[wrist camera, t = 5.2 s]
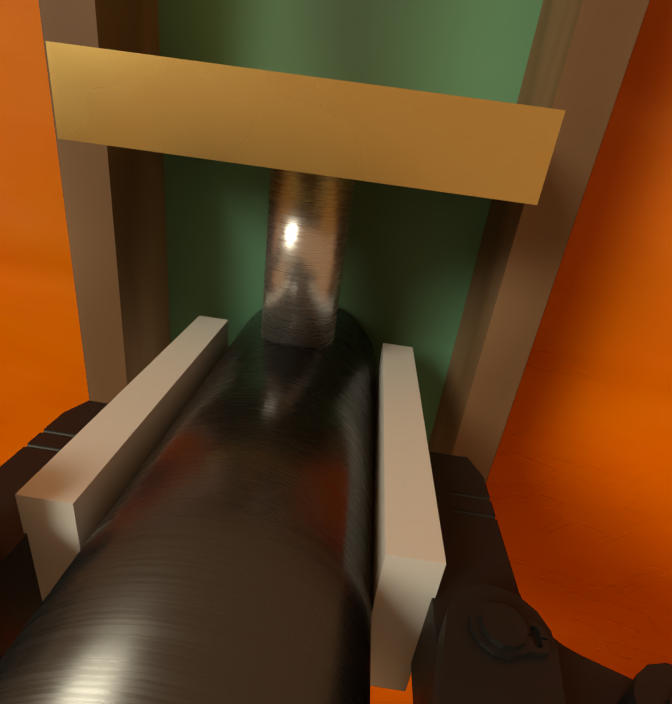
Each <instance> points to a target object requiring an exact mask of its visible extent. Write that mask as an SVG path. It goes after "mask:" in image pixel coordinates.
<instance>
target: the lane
mask: <svg viewBox="0 0 672 704" xmlns="http://www.w3.org/2000/svg"><path fill="white" fill-rule="evenodd" d="M649 1H650V0H39V8H40V16H41V23H42V31H43V39H44V47H45V55H46V63H47V71H48V78H49V86H50V94H51V102H52V110H53V118H54V126H55V133H56V141H57V149H58V157H59V165H60V173H61V180H62V188H63V196H64V204H65V212H66V220H67V228H68V235H69V243H70V251H71V259H72V267H73V275H74V283H75V290H76V298H77V306H78V314H79V322H80V330H81V337H82V345H83V353H84V361H85V369H86V377H87V385H88V392H89V400H90V401H96V402H102V403H108V404H109V403H110V402H111V401H112V400H113V399H114V398H115V397H116V396H117V395H118V394H119V393H120V392H121V391H122V390H123V389H124V388H125V387H126V386H127V385H128V384H129V383H130V382H131V381H132V380H133V379H134V378H135V377H137V376H138V375H139V374H140V373H141V372H142V371H143V370H144V369H145V368H146V367H147V366H148V365H149V364H150V363H151V362H152V361H153V360H154V359H155V358H156V357H157V356H158V355H159V354H160V353H161V352H162V351H163V350H164V349H165V348H166V347H167V346H168V345H170V344H171V343H172V342H173V341H174V340H175V339H176V338H177V337H178V336H179V335H180V334H181V333H182V332H183V331H184V330H185V329H186V328H187V327H188V326H189V325H190V324H191V323H192V322H193V321H194V320H195V319H196V318H197V317H198V316H205V317H212V318H219V319H226V320H228V347H229V346H230V345H231V343H232V342H233V341H234V339H235V338H236V336H237V335H238V334H239V332H240V331H241V330H242V328H243V327H244V326H245V324H246V323H247V322H248V321H249V319H250V318H251V317H252V316H253V315H254V314H256V313H257V312H258V311H259V310H261V309H262V308H263V291H264V274H265V256H266V239H267V221H268V204H269V186H270V169H271V168H267V167H260V166H252V165H245V164H238V163H231V162H224V161H216V160H209V159H202V158H195V157H188V156H180V155H173V154H166V153H159V152H152V151H145V150H137V149H130V148H123V147H116V146H109V145H101V144H94V143H87V142H80V141H73V140H65V139H58V136H57V128H56V120H55V112H54V105H53V97H52V89H51V81H50V73H49V65H48V57H47V49H46V41H50V42H57V43H65V44H72V45H80V46H87V47H95V48H102V49H110V50H117V51H125V52H132V53H140V54H147V55H155V56H162V57H170V58H177V59H185V60H192V61H200V62H207V63H215V64H222V65H230V66H237V67H245V68H252V69H260V70H267V71H275V72H282V73H290V74H297V75H305V76H312V77H320V78H327V79H335V80H342V81H350V82H357V83H365V84H372V85H380V86H387V87H395V88H402V89H410V90H417V91H425V92H432V93H440V94H447V95H455V96H462V97H470V98H477V99H485V100H492V101H500V102H507V103H515V104H522V105H530V106H537V107H545V108H552V109H560V110H566V111H565V114H564V118H563V121H562V124H561V128H560V131H559V134H558V138H557V141H556V144H555V148H554V151H553V154H552V157H551V161H550V164H549V167H548V171H547V174H546V177H545V181H544V184H543V187H542V191H541V194H540V197H539V201H538V204H537V205H533V204H526V203H518V202H511V201H504V200H497V199H490V198H482V197H475V196H468V195H461V194H454V193H446V192H439V191H432V190H425V189H418V188H411V187H403V186H396V185H389V184H382V183H375V182H367V181H360V180H355V183H354V191H353V198H352V206H351V213H350V221H349V228H348V236H347V243H346V251H345V259H344V266H343V274H342V281H341V289H340V296H339V304H338V308H340V309H342V310H343V311H345V312H346V313H348V314H349V315H350V316H351V317H353V318H354V319H355V320H356V321H357V322H358V323H359V324H360V325H361V327H362V328H363V329H364V331H365V332H366V334H367V335H368V337H369V339H370V341H371V344H372V347H373V349H374V353H375V359H376V378H377V373H378V367H379V362H380V356H381V351H382V345H383V343H387V344H394V345H401V346H407V347H413V353H414V360H415V366H416V373H417V379H418V385H419V392H420V398H421V405H422V411H423V418H424V424H425V430H426V437H427V443H428V450H429V451H430V452H436V453H443V454H449V455H456V456H462V457H468V459H469V460H470V461H471V462H472V463H473V465H474V466H475V467H476V468H477V469H478V471H479V472H480V473H481V474H482V475H483V477H484V480H485V484H486V481H487V478H488V475H489V472H490V469H491V466H492V463H493V460H494V457H495V454H496V451H497V449H498V446H499V443H500V440H501V437H502V434H503V431H504V428H505V425H506V422H507V419H508V416H509V413H510V410H511V407H512V404H513V401H514V398H515V395H516V393H517V390H518V387H519V384H520V381H521V378H522V375H523V372H524V369H525V366H526V363H527V360H528V357H529V354H530V351H531V348H532V345H533V342H534V340H535V337H536V334H537V331H538V328H539V325H540V322H541V319H542V316H543V313H544V310H545V307H546V304H547V301H548V298H549V295H550V292H551V289H552V286H553V284H554V281H555V278H556V275H557V272H558V269H559V266H560V263H561V260H562V257H563V254H564V251H565V248H566V245H567V242H568V239H569V236H570V233H571V231H572V228H573V225H574V222H575V219H576V216H577V213H578V210H579V207H580V204H581V201H582V198H583V195H584V192H585V189H586V186H587V183H588V180H589V178H590V175H591V172H592V169H593V166H594V163H595V160H596V157H597V154H598V151H599V148H600V145H601V142H602V139H603V136H604V133H605V130H606V127H607V124H608V122H609V119H610V116H611V113H612V110H613V107H614V104H615V101H616V98H617V95H618V92H619V89H620V86H621V83H622V80H623V77H624V74H625V71H626V69H627V66H628V63H629V60H630V57H631V54H632V51H633V48H634V45H635V42H636V39H637V36H638V33H639V30H640V27H641V24H642V21H643V18H644V15H645V13H646V10H647V7H648V4H649Z"/></svg>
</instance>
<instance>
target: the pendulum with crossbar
mask: <svg viewBox="0 0 672 704" xmlns="http://www.w3.org/2000/svg"><path fill="white" fill-rule="evenodd" d="M46 49H47V57H48V65H49V73H50V81H51V89H52V97H53V105H54V112H55V120H56V128H57V136H58V139H65V140H73V141H80V142H87V143H94V144H101V145H109V146H116V147H123V148H130V149H137V150H145V151H152V152H159V153H166V154H173V155H180V156H188V157H195V158H202V159H209V160H216V161H224V162H231V163H238V164H245V165H252V166H260V167H267V168H271V169H270V186H269V204H268V221H267V239H266V256H265V274H264V291H263V308H262V309H261V310H259V311H258V312H257V313H256V314H254V315H253V316H252V317H251V318H250V319H249V321H248V322H247V323H246V324H245V326H244V327H243V328H242V330H241V331H240V332H239V334H238V335H237V336H236V338H235V339H234V341H233V342H232V343H231V345H230V346H229V347H228V349H227V350H226V352H225V353H224V354H223V356H222V357H221V358H220V360H219V361H218V362H217V364H216V365H215V367H214V368H213V369H212V371H211V372H210V373H209V375H208V376H207V378H206V379H205V380H204V382H203V383H202V384H201V386H200V387H199V388H198V390H197V391H196V393H195V394H194V395H193V397H192V398H191V399H190V401H189V402H188V404H187V405H186V406H185V408H184V409H183V410H182V412H181V413H180V414H179V416H178V417H177V419H176V420H175V421H174V423H173V424H172V425H171V427H170V428H169V430H168V431H167V432H166V434H165V435H164V436H163V438H162V439H161V440H160V442H159V443H158V445H157V446H156V447H155V449H154V450H153V451H152V453H151V454H150V456H149V457H148V458H147V460H146V461H145V462H144V464H143V465H142V466H141V468H140V469H139V471H138V472H137V473H136V475H135V476H134V477H133V479H132V480H131V482H130V483H129V484H128V486H127V487H126V488H125V490H124V491H123V492H122V494H121V495H120V497H119V498H118V499H117V501H116V502H115V503H114V505H113V506H112V508H111V509H110V510H109V512H108V513H107V514H106V516H105V517H104V518H103V520H102V521H101V523H100V524H99V525H98V527H97V528H96V529H95V531H94V532H93V534H92V535H91V536H90V538H89V539H88V540H87V542H86V543H85V545H84V546H83V547H82V549H81V550H80V551H79V553H78V554H77V555H76V557H75V558H74V560H73V561H72V562H71V564H70V565H69V566H68V568H67V569H66V571H65V572H64V573H63V575H62V576H61V577H60V579H59V580H58V581H57V583H56V584H55V586H54V587H53V588H52V590H51V591H50V592H49V594H48V595H47V597H46V598H45V599H44V601H43V602H42V603H41V605H40V606H39V607H38V609H37V610H36V612H35V613H34V614H33V616H32V617H31V618H30V620H29V621H28V623H27V624H26V625H25V627H24V628H23V629H22V631H21V632H20V633H19V635H18V636H17V638H16V639H15V640H14V642H13V643H12V644H11V646H10V647H9V649H8V650H7V651H6V653H5V654H4V655H3V657H2V658H1V659H0V704H370V669H371V612H372V558H373V505H374V451H375V396H376V359H375V353H374V349H373V347H372V344H371V341H370V339H369V337H368V335H367V334H366V332H365V331H364V329H363V328H362V327H361V325H360V324H359V323H358V322H357V321H356V320H355V319H354V318H353V317H351V316H350V315H349V314H348V313H346V312H345V311H343V310H342V309H340V308H338V304H339V296H340V289H341V281H342V274H343V266H344V259H345V251H346V243H347V236H348V228H349V221H350V213H351V206H352V198H353V191H354V183H355V180H360V181H367V182H375V183H382V184H389V185H396V186H403V187H411V188H418V189H425V190H432V191H439V192H446V193H454V194H461V195H468V196H475V197H482V198H490V199H497V200H504V201H511V202H518V203H526V204H533V205H537V204H538V201H539V197H540V194H541V191H542V187H543V184H544V181H545V177H546V174H547V171H548V167H549V164H550V161H551V157H552V154H553V151H554V148H555V144H556V141H557V138H558V134H559V131H560V128H561V124H562V121H563V118H564V114H565V111H566V110H560V109H552V108H545V107H537V106H530V105H522V104H515V103H507V102H500V101H492V100H485V99H477V98H470V97H462V96H455V95H447V94H440V93H432V92H425V91H417V90H410V89H402V88H395V87H387V86H380V85H372V84H365V83H357V82H350V81H342V80H335V79H327V78H320V77H312V76H305V75H297V74H290V73H282V72H275V71H267V70H260V69H252V68H245V67H237V66H230V65H222V64H215V63H207V62H200V61H192V60H185V59H177V58H170V57H162V56H155V55H147V54H140V53H132V52H125V51H117V50H110V49H102V48H95V47H87V46H80V45H72V44H65V43H57V42H50V41H46Z"/></svg>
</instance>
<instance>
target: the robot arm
mask: <svg viewBox="0 0 672 704" xmlns="http://www.w3.org/2000/svg"><path fill="white" fill-rule="evenodd" d="M227 349H228V320H226V319H219V318H212V317H205V316H198V317H197V318H196V319H195V320H194V321H193V322H192V323H191V324H190V325H189V326H188V327H187V328H186V329H185V330H184V331H183V332H182V333H181V334H180V335H179V336H178V337H177V338H176V339H175V340H174V341H173V342H172V343H171V344H170V345H168V346H167V347H166V348H165V349H164V350H163V351H162V352H161V353H160V354H159V355H158V356H157V357H156V358H155V359H154V360H153V361H152V362H151V363H150V364H149V365H148V366H147V367H146V368H145V369H144V370H143V371H142V372H141V373H140V374H139V375H138V376H137V377H135V378H134V379H133V380H132V381H131V382H130V383H129V384H128V385H127V386H126V387H125V388H124V389H123V390H122V391H121V392H120V393H119V394H118V395H117V396H116V397H115V398H114V399H113V400H112V401H111V402H110V403H109V404H108V403H102V402H96V401H87V402H85V403H83V404H81V405H79V406H77V407H75V408H72V409H70V410H68V411H66V412H64V413H62V414H61V415H60V416H59V417H58V418H57V419H55V420H54V421H53V422H52V423H51V424H50V425H48V426H47V427H46V428H45V429H44V432H43V433H39V434H38V435H37V436H36V437H35V438H33V439H32V440H31V441H30V442H29V443H28V445H27V447H23V448H22V449H21V450H19V451H18V452H17V453H16V454H15V455H14V456H12V457H11V458H10V459H9V460H8V461H7V462H5V463H4V464H3V465H2V466H1V467H0V659H1V658H2V657H3V655H4V654H5V653H6V651H7V650H8V649H9V647H10V646H11V644H12V643H13V642H14V640H15V639H16V638H17V636H18V635H19V633H20V632H21V631H22V629H23V628H24V627H25V625H26V624H27V623H28V621H29V620H30V618H31V617H32V616H33V614H34V613H35V612H36V610H37V609H38V607H39V606H40V605H41V603H42V602H43V601H44V599H45V598H46V597H47V595H48V594H49V592H50V591H51V590H52V588H53V587H54V586H55V584H56V583H57V581H58V580H59V579H60V577H61V576H62V575H63V573H64V572H65V571H66V569H67V568H68V566H69V565H70V564H71V562H72V561H73V560H74V558H75V557H76V555H77V554H78V553H79V551H80V550H81V549H82V547H83V546H84V545H85V543H86V542H87V540H88V539H89V538H90V536H91V535H92V534H93V532H94V531H95V529H96V528H97V527H98V525H99V524H100V523H101V521H102V520H103V518H104V517H105V516H106V514H107V513H108V512H109V510H110V509H111V508H112V506H113V505H114V503H115V502H116V501H117V499H118V498H119V497H120V495H121V494H122V492H123V491H124V490H125V488H126V487H127V486H128V484H129V483H130V482H131V480H132V479H133V477H134V476H135V475H136V473H137V472H138V471H139V469H140V468H141V466H142V465H143V464H144V462H145V461H146V460H147V458H148V457H149V456H150V454H151V453H152V451H153V450H154V449H155V447H156V446H157V445H158V443H159V442H160V440H161V439H162V438H163V436H164V435H165V434H166V432H167V431H168V430H169V428H170V427H171V425H172V424H173V423H174V421H175V420H176V419H177V417H178V416H179V414H180V413H181V412H182V410H183V409H184V408H185V406H186V405H187V404H188V402H189V401H190V399H191V398H192V397H193V395H194V394H195V393H196V391H197V390H198V388H199V387H200V386H201V384H202V383H203V382H204V380H205V379H206V378H207V376H208V375H209V373H210V372H211V371H212V369H213V368H214V367H215V365H216V364H217V362H218V361H219V360H220V358H221V357H222V356H223V354H224V353H225V352H226V350H227ZM489 498H490V497H489V493H488V490H487V487H486V484H485V480H484V477H483V475H482V474H481V473H480V472H479V471H478V469H477V468H476V467H475V466H474V465H473V463H472V462H471V461H470V460H469V459H468V457H462V456H456V455H449V454H443V453H436V452H430V451H429V450H428V443H427V437H426V430H425V424H424V418H423V411H422V405H421V398H420V392H419V385H418V379H417V373H416V366H415V360H414V353H413V347H407V346H401V345H394V344H387V343H383V345H382V351H381V356H380V362H379V367H378V373H377V378H376V396H375V451H374V505H373V558H372V612H371V669H370V685H371V686H377V687H383V688H389V689H395V690H400V691H405V690H406V687H407V684H408V681H409V678H410V675H411V673H412V690H413V704H672V665H671V664H668V663H661V664H650V665H647V666H646V667H644V668H643V669H642V670H641V671H640V672H639V673H638V674H637V675H636V676H635V678H634V679H633V680H632V679H630V678H628V677H626V676H624V675H622V674H619V673H617V672H615V671H613V670H611V669H609V668H607V667H604V666H602V665H600V664H598V663H596V662H594V661H592V660H589V659H587V658H585V657H583V656H581V655H579V654H577V653H576V652H574V651H572V650H570V649H568V648H567V647H565V646H563V645H562V644H561V643H559V642H558V641H557V640H555V639H554V638H553V636H552V633H551V631H550V629H549V628H548V626H547V625H546V624H545V622H544V621H543V619H542V618H541V617H540V615H539V614H538V612H537V611H536V610H534V609H533V608H532V607H531V606H530V605H528V604H527V603H526V602H525V601H524V600H522V598H521V596H520V594H519V591H518V588H517V585H516V581H515V578H514V575H513V572H512V568H511V565H510V562H509V559H508V555H507V552H506V549H505V546H504V542H503V539H502V536H501V532H500V529H499V526H498V523H497V520H495V513H494V510H493V506H492V503H491V501H489Z"/></svg>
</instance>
